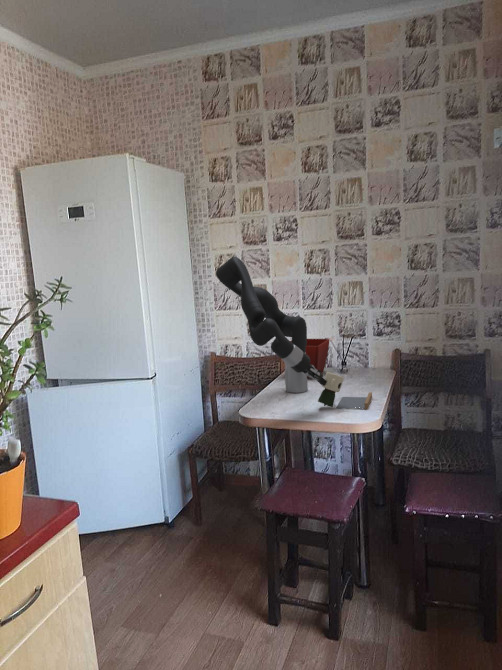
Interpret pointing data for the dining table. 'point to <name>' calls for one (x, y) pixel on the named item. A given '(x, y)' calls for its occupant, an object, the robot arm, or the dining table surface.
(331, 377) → the character mug
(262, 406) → the dining table surface
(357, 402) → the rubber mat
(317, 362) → the plant pot
